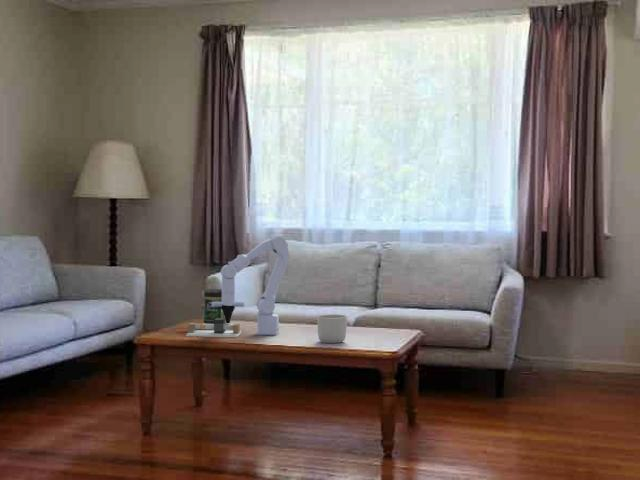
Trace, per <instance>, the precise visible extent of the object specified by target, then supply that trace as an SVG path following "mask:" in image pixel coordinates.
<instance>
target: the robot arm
mask: <svg viewBox="0 0 640 480" xmlns="http://www.w3.org/2000/svg"><path fill="white" fill-rule="evenodd" d="M288 246H289V243H288V242H287V241H286V239H285V238H284V236H280V235H279V236H278V235H272V236H270V237H269V238H267V239H265V240H264V241H262V242H260V243H259V244H258V245H256V246H255V247H254V248H252V250H250V251H249V252H248V253H246V254H244V253H243V254H242V253H241V254H238V255H237V256H236V258H234V259H232V260H231V261H228V263H227V264H225V265H223V266H222V267H221V270H220V275H221V289H222V302H212V306H222V308H221V309H222V311H223V313H224V318H225V324H230V323H231V318H232V315H233V313H234V311H235V308H237V307H238V308H239V307H240V308H245V307H246V302H245V301H236V297H235V296H236V291H235V290H236V282H235V277H236V276H237V274H238V273H240V272H241V271H242V270H244V269H245V268H247V267H248V266H250V264H251V261H252V260H253V259H254V258H256V257H258V256H259V255H261V254H263V253H264V252H266V251H273V253H274V255H275V256H276V258H277V259H276V261H275V264H274V267H273V269H272V271H271V275H270V277H269V280H268V283H267V285H266V288H265V290H264V291H263V293H262V295H261V297H260V299H258V300H257V302H256V308H257V309H258V312H257V321H256V322H257V326H256V327H257V328H256V329H257V332H255V335H259V336H261V335H267V336H268V335H269V336H271V335H272V336H276V335H278V334H279V333H280V332H279V331H280V329H279V328H280V326H279V324H280V323H279V321H280V319H279V314H277V313H276V314H275V313H274V311H275V308H276V307H275V302H276V299H277V298H276V295H277V292H278V289H279V288H280V287H279V286H280V285H281V282H282V279H283V276H284V274H285V271H286V268H287V265H288V264H289V260H290V253H289V248H288Z"/></svg>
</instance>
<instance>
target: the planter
mask: <svg viewBox="0 0 640 480" xmlns="http://www.w3.org/2000/svg"><path fill="white" fill-rule="evenodd" d="M316 317H317V319H316V322H317V335H318V340H319V341H320V343H325V344H339V343H340V342H341V343H343V342H344V341H346V337H347V336H346V335H347V323H348V322H347V321H348V320H347V319H348V317H347V315H345V314H336V313H335V314H334V313H333V314H331V313H330V314H328V313H327V314H319V315H317V316H316ZM341 343H340V344H341Z"/></svg>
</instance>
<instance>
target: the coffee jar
mask: <svg viewBox="0 0 640 480" xmlns="http://www.w3.org/2000/svg"><path fill="white" fill-rule="evenodd" d="M203 299H204V304H205V305H204V307H205V308H204V318H203V323H205V324H214V319H216V318H225V316H224V313H223V311H222V309H221V308H222V306H212V302H222V288H207V289H205V290H204V294H203Z"/></svg>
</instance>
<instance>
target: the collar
mask: <svg viewBox="0 0 640 480" xmlns="http://www.w3.org/2000/svg"><path fill="white" fill-rule="evenodd" d="M223 324H226V319H225V317H224V318H216V319H214V329H213V330H214V333H224V332H225V331H226V330H223Z"/></svg>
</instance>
